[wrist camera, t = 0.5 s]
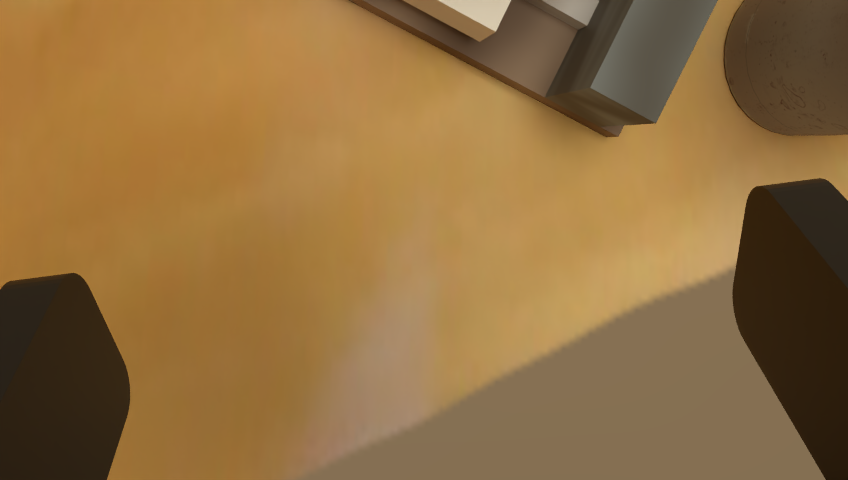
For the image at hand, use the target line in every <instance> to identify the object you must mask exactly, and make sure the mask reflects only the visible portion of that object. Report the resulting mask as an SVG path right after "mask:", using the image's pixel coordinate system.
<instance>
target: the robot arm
mask: <svg viewBox="0 0 848 480" xmlns="http://www.w3.org/2000/svg"><path fill="white" fill-rule="evenodd" d="M733 306H734V313H735V318H736V322H737V325H738V328H739V331H740V333H741V336H742V337H743V339H744V341H745V343H746V344H747V346H748V348H749V349H750V351H751V353H752V355H753V356H754V358H755V360H756V362H757V363H758V365H759V367H760V368H761V370H762V372H763V373H764V375H765V377H766V378H767V380H768V382H769V384H770V385H771V387H772V389H773V390H774V392H775V394H776V396H777V397H778V399H779V401H780V402H781V404H782V406H783V408H784V409H785V411H786V413H787V414H788V416H789V418H790V419H791V421H792V423H793V425H794V426H795V428H796V430H797V431H798V433H799V435H800V436H801V438H802V440H803V441H804V443H805V445H806V447H807V448H808V450H809V452H810V453H811V455H812V457H813V459H814V460H815V462H816V464H817V465H818V467H819V469H820V470H821V472H822V474H823V475H824V477H825V479H826V480H848V201H847V200H846V199H845V198H844V196H843V195H842V194H841V193H840V192H839V191H838V190H837V189H836V188H835V187H834V186H833V185H832V184H831V183H830V182H829V181H827V180H825V179H821V178H819V179H811V180H803V181H796V182H788V183H780V184H772V185H765V186H757V187H755V188H753V190H752V191H751V192H750V194H749V196H748V199H747V203H746V208H745V214H744V220H743V227H742V233H741V239H740V245H739V252H738V258H737V264H736V271H735V277H734V283H733ZM129 404H130V384H129V377H128V373H127V369H126V366H125V363H124V361H123V359H122V356H121V354H120V352H119V350H118V348H117V346H116V344H115V342H114V339H113V337H112V335H111V333H110V331H109V329H108V327H107V324H106V322H105V320H104V318H103V316H102V314H101V312H100V310H99V307H98V305H97V303H96V301H95V299H94V297H93V295H92V293H91V290H90V288H89V286H88V285H87V283H86V282H85V280H84V279H83V278H82V277H81V276H80V275H78V274H75V273H69V274H61V275H54V276H46V277H38V278H31V279H23V280H15V281H10V282H8V283H6V284H5V285H4V286H3V287H2V288H1V290H0V480H107V477H108V474H109V471H110V468H111V465H112V462H113V459H114V456H115V452H116V449H117V446H118V443H119V440H120V437H121V434H122V431H123V427H124V424H125V421H126V418H127V415H128V410H129Z"/></svg>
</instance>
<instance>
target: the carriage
mask: <svg viewBox="0 0 848 480" xmlns="http://www.w3.org/2000/svg"><path fill="white" fill-rule="evenodd" d="M403 1H405V2H407V3H409V4H410V5H412V6H414V7H416V8H418V9H420V10H422V11H423V12H425V13H427V14H429V15H431V16H433V17H435V18H436V19H438V20H440V21H442V22H444V23H446V24H448V25H449V26H451V27H453V28H455V29H457V30H459V31H461V32H462V33H464V34H466V35H468V36H470V37H472V38H474V39H475V40H477V41H479V42H480V41H482V40H484V39H485V38H487V37H488V36H490V35H491V34H493V33H495V32H496V30H497V28H498V26H499V24H500V22H501V20H502V18H503V16H504V14H505V12H506V10H507V8H508V6H509V4H510V2H511V0H403Z"/></svg>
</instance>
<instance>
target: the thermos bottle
mask: <svg viewBox="0 0 848 480" xmlns="http://www.w3.org/2000/svg"><path fill="white" fill-rule="evenodd" d="M724 63H725V70H726V77H727V80H728V83H729V86H730V89H731V92H732V94H733V96H734V98H735V99H736V101H737V103H738V105H739V106H740V107H741V108H742V110H743V111H744V112H745V113H746V114H747V115H748V117H750V118H751V119H752V120H754V121H755V122H756V123H758V124H759V125H760V126H762V127H764V128H766V129H768V130H770V131H773V132H776V133H780V134H784V135H847V134H848V0H744V2H743V3H742V5H741V6H740V8H739V9H738V11H737V12H736V14H735V16H734V18H733V21H732V23H731V25H730V28H729V31H728V35H727V39H726V43H725V57H724Z"/></svg>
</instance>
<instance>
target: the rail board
mask: <svg viewBox="0 0 848 480" xmlns="http://www.w3.org/2000/svg"><path fill="white" fill-rule="evenodd" d="M350 1H352V2H353V3H355V4H357V5H359V6H361V7H363V8H365V9H367V10H368V11H370V12H372V13H374V14H376V15H378V16H380V17H382V18H384V19H385V20H387V21H389V22H391V23H393V24H395V25H397V26H399V27H400V28H402V29H404V30H406V31H408V32H410V33H412V34H414V35H416V36H417V37H419V38H421V39H423V40H425V41H427V42H429V43H431V44H432V45H434V46H436V47H438V48H440V49H442V50H444V51H446V52H448V53H449V54H451V55H453V56H455V57H457V58H459V59H461V60H463V61H464V62H466V63H468V64H470V65H472V66H474V67H476V68H478V69H480V70H481V71H483V72H485V73H487V74H489V75H491V76H493V77H495V78H496V79H498V80H500V81H502V82H504V83H506V84H508V85H510V86H512V87H513V88H515V89H517V90H519V91H521V92H523V93H525V94H527V95H528V96H530V97H532V98H534V99H536V100H538V101H540V102H542V103H544V104H545V105H547V106H549V107H551V108H553V109H555V110H557V111H559V112H560V113H562V114H564V115H566V116H568V117H570V118H572V119H574V120H576V121H577V122H579V123H581V124H583V125H585V126H587V127H589V128H591V129H592V130H594V131H596V132H598V133H600V134H602V135H604V136H606V137H618V136H619V134H620V132H621V130H622V128H623V126H624V125H637V124H653V123H656V122H657V120H658V118H659V116H660V114H661V112H662V110H663V108H664V106H665V104H666V102H667V100H668V98H669V96H670V94H671V92H672V90H673V88H674V86H675V84H676V82H677V80H678V78H679V76H680V74H681V72H682V70H683V68H684V66H685V64H686V62H687V60H688V58H689V56H690V54H691V52H692V50H693V48H694V46H695V44H696V42H697V40H698V38H699V36H700V34H701V32H702V31H703V29H704V27H705V25H706V23H707V21H708V19H709V17H710V15H711V13H712V11H713V9H714V7H715V5H716V3H717V1H718V0H511V2H510V4H509V6H508V8H507V10H506V12H505V14H504V16H503V18H502V20H501V22H500V24H499V26H498V28H497V30H496V32H495V33H493V34H491V35H490V36H488V37H487V38H485V39H484V40H482V41H480V42H479V41H477V40H475V39H474V38H472V37H470V36H468V35H466V34H464V33H462V32H461V31H459V30H457V29H455V28H453V27H451V26H449V25H448V24H446V23H444V22H442V21H440V20H438V19H436V18H435V17H433V16H431V15H429V14H427V13H425V12H423V11H422V10H420V9H418V8H416V7H414V6H412V5H410V4H409V3H407V2H405V1H403V0H350Z"/></svg>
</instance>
